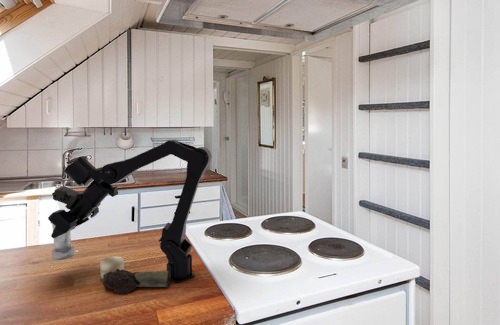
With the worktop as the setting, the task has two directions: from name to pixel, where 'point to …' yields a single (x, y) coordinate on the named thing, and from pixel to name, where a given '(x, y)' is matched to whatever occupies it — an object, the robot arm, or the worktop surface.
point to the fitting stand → (111, 265)
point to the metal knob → (62, 246)
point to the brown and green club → (134, 280)
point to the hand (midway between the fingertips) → (57, 234)
